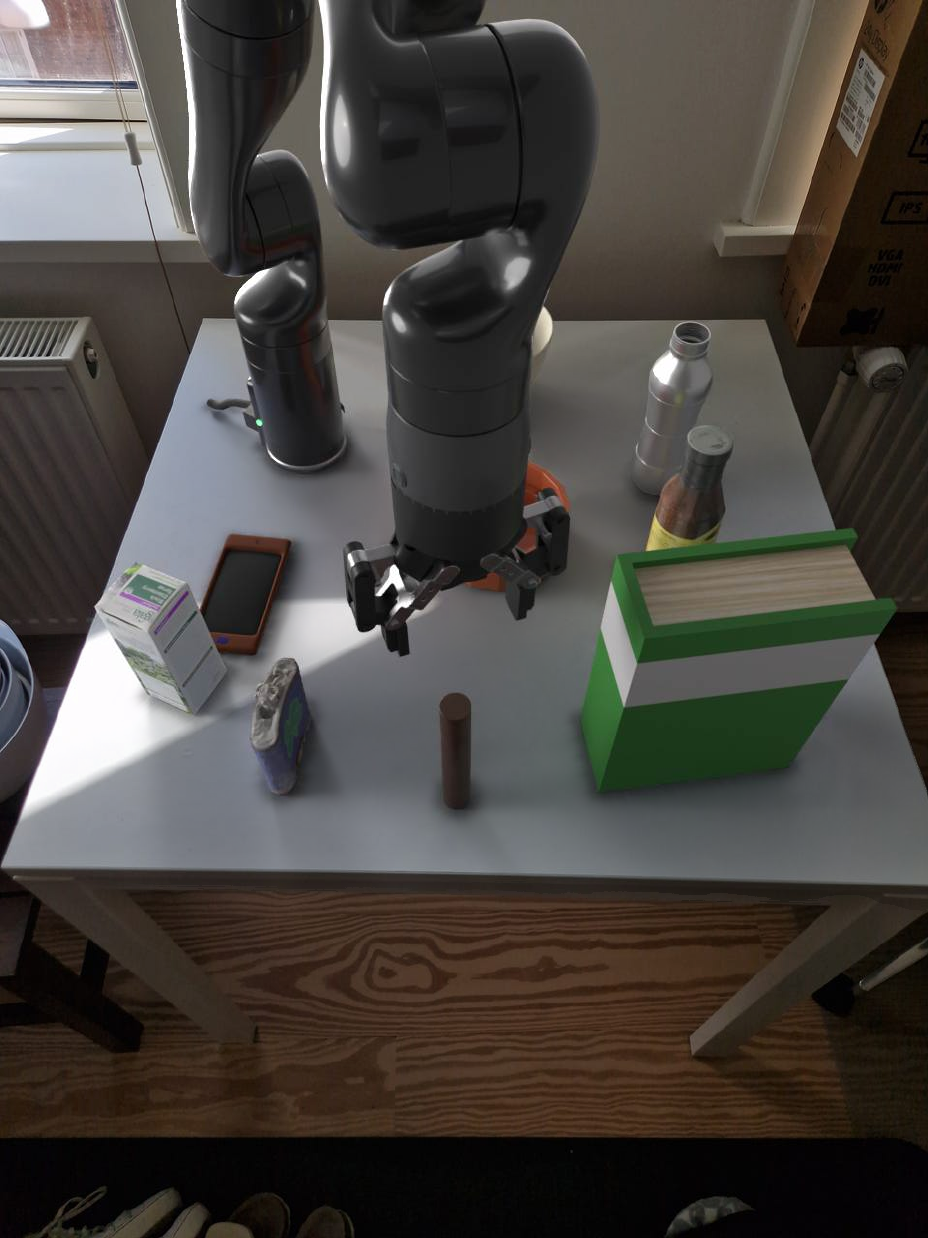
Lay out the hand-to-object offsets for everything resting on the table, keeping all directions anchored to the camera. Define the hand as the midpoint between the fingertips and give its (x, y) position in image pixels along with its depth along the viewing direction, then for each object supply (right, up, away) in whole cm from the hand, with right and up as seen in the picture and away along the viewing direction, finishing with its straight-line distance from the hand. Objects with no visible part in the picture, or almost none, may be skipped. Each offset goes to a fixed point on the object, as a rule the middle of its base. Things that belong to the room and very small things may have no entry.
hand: (458, 628), depth 59 cm
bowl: (+3, +29, +49) cm, 57 cm away
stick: (0, -15, +16) cm, 22 cm away
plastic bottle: (+22, +16, +39) cm, 48 cm away
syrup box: (-26, -6, +23) cm, 36 cm away
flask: (-16, -11, +19) cm, 27 cm away
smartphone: (-23, +3, +30) cm, 37 cm away
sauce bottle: (+22, +4, +31) cm, 38 cm away
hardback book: (+21, -11, +20) cm, 30 cm away
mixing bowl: (+4, +9, +34) cm, 35 cm away
